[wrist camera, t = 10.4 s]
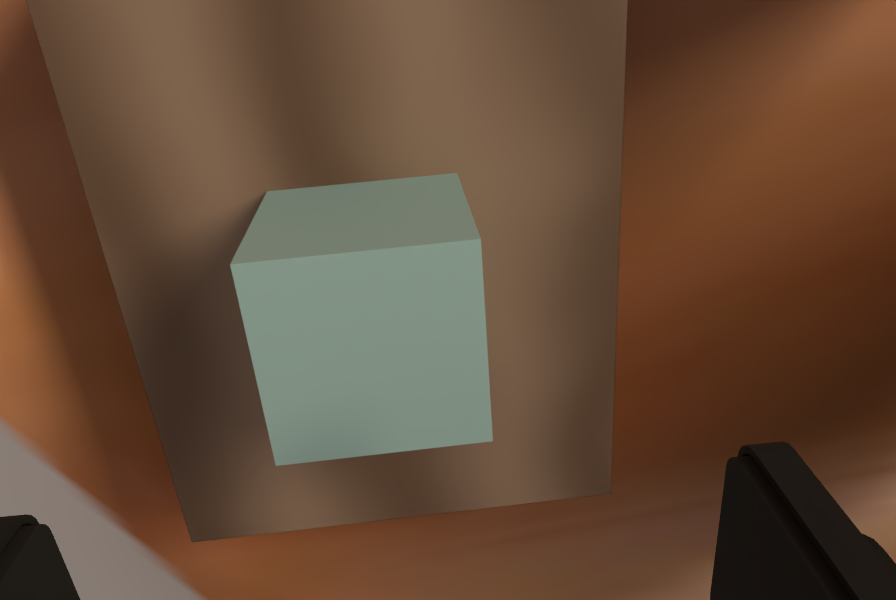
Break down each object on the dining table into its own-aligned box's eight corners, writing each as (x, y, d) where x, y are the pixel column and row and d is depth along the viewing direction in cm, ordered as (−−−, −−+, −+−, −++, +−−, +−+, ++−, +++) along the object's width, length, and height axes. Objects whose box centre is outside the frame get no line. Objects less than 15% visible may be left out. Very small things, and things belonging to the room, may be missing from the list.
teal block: (456, 172, 19) (480, 239, 14) (468, 338, 21) (492, 440, 16) (266, 191, 18) (229, 264, 14) (298, 356, 21) (275, 466, 16)
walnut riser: (577, -105, 21) (631, -124, 16) (574, 409, 28) (610, 493, 24) (88, -67, 20) (2, -76, 15) (222, 448, 28) (191, 542, 23)
